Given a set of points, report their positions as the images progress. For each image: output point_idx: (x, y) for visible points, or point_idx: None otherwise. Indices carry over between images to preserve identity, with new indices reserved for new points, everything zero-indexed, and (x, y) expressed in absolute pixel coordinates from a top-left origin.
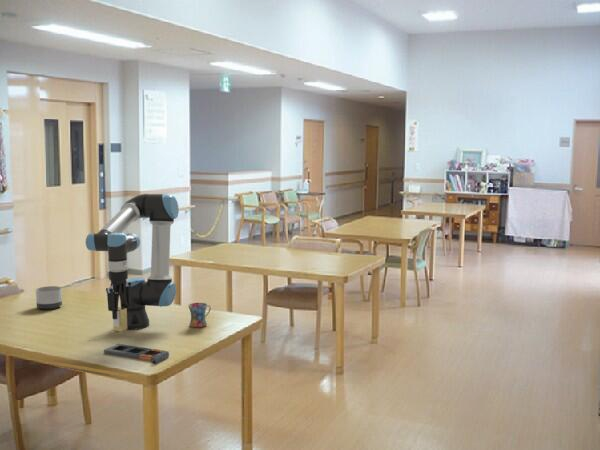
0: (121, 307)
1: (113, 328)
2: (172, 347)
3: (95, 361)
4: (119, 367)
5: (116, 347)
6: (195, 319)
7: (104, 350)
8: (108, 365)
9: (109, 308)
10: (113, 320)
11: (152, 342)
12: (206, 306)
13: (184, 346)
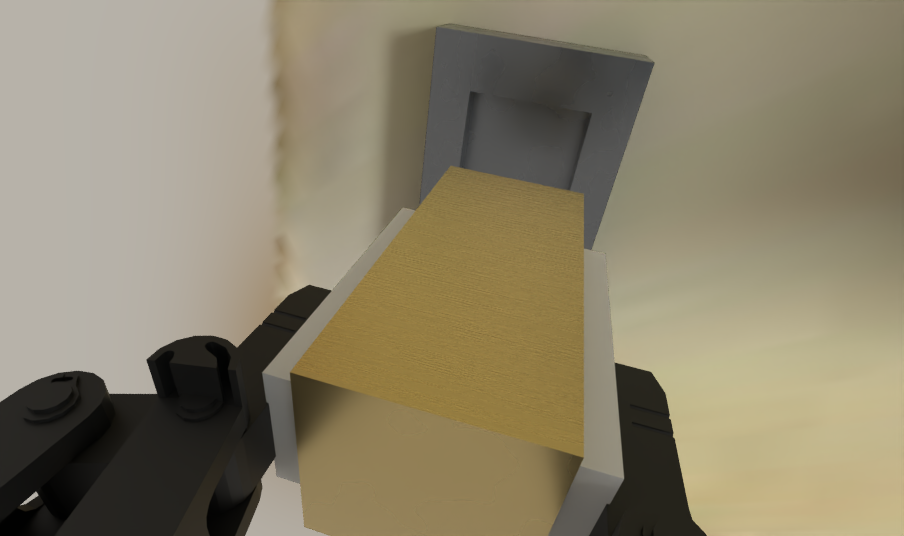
0: (545, 518)
1: (445, 174)
2: (720, 420)
3: (310, 36)
4: (294, 255)
5: (544, 103)
6: None
7: (437, 32)
8: (290, 178)
9: (8, 444)
10: (368, 253)
11: (879, 271)
12: None
13: (744, 471)
